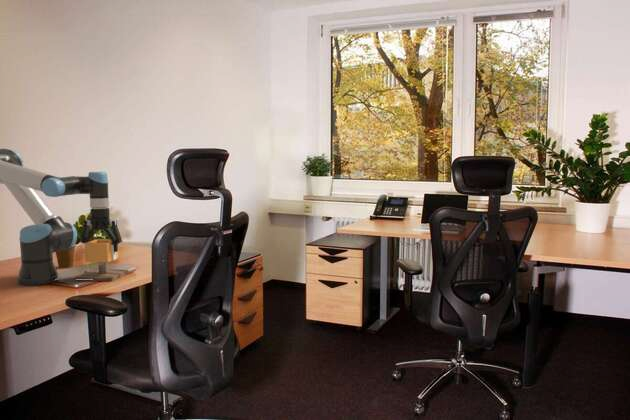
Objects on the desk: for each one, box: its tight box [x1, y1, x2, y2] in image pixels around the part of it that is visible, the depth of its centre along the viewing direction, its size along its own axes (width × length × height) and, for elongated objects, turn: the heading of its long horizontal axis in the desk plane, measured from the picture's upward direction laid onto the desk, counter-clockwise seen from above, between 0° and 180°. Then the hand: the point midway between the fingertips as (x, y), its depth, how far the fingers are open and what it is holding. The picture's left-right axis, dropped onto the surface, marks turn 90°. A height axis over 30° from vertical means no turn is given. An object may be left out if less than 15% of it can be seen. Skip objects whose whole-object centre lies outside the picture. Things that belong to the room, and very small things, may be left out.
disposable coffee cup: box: [55, 242, 77, 269], centre depth 254 cm, size 10×10×12 cm
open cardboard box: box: [83, 239, 120, 263], centre depth 233 cm, size 10×10×8 cm
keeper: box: [74, 262, 129, 282], centre depth 234 cm, size 16×16×10 cm
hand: (102, 259), depth 233 cm, fingers closed on open cardboard box, 10 cm apart
